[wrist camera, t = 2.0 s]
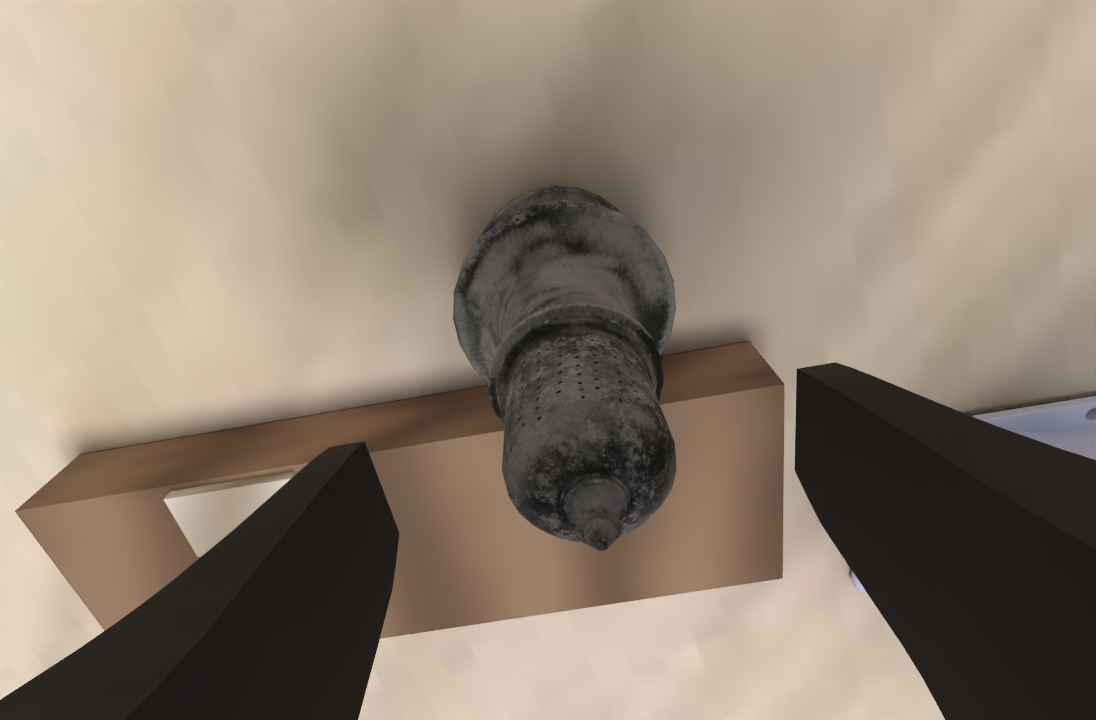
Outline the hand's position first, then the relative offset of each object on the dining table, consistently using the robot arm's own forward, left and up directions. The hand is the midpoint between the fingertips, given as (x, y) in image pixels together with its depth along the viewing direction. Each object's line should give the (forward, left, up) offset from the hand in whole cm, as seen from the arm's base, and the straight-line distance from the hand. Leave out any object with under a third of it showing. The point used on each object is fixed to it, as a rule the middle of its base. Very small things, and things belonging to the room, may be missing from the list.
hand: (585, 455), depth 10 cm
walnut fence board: (+6, +8, -10) cm, 14 cm away
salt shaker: (0, 0, -10) cm, 10 cm away
